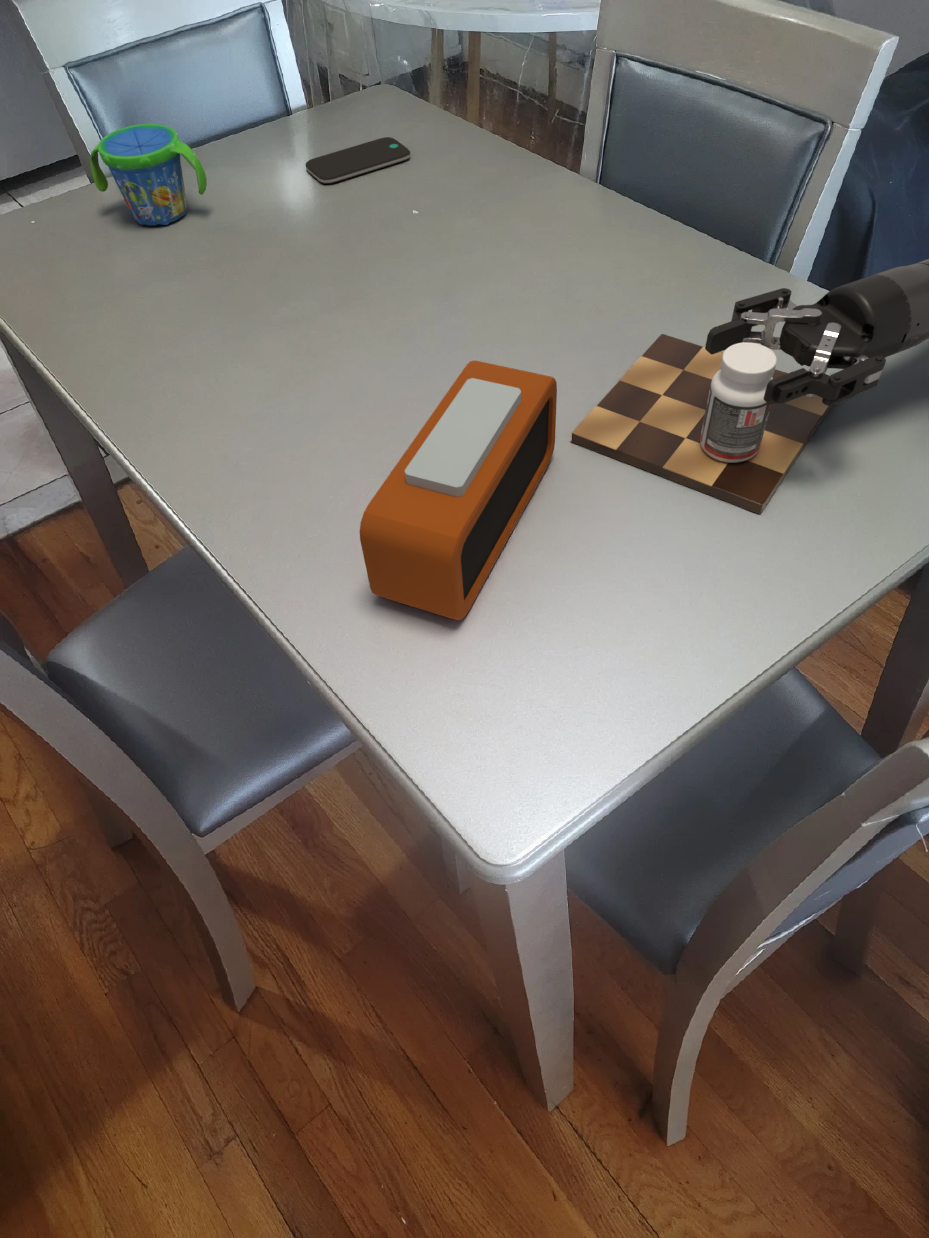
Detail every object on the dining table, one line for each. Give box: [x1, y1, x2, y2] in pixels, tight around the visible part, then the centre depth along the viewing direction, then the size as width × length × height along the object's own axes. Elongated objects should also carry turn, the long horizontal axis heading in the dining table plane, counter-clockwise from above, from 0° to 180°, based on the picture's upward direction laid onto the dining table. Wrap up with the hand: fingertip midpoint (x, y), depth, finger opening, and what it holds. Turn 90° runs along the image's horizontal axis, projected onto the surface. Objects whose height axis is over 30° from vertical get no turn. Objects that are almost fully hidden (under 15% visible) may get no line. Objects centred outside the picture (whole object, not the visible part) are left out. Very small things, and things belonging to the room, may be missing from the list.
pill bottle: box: [700, 342, 778, 463], centre depth 80 cm, size 6×6×10 cm
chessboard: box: [570, 333, 832, 515], centre depth 88 cm, size 20×20×1 cm
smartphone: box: [305, 136, 411, 185], centre depth 129 cm, size 8×1×15 cm
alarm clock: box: [359, 360, 558, 621], centre depth 76 cm, size 24×8×11 cm, turn 156°
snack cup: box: [89, 123, 208, 226], centre depth 118 cm, size 16×10×10 cm
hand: (737, 368), depth 77 cm, fingers open, 8 cm apart
